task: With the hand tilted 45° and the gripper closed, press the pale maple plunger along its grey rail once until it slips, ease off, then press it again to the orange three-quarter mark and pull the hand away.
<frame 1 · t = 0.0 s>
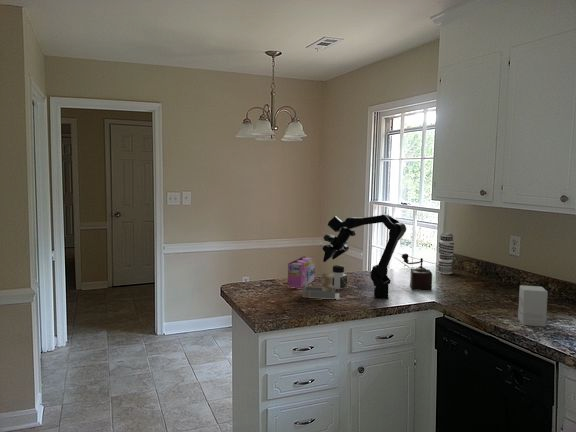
hand: (328, 260, 250), 15 cm above the worktop, tool tilted 35°, fingers open, 9 cm apart
plunger: (328, 284, 232), point 6 cm above the worktop, slide at 0.0 cm
gum box: (301, 284, 258), on the worktop
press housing: (321, 296, 233), on the worktop
medicine bottle: (337, 287, 252), on the worktop
supplement box: (531, 323, 196), on the worktop
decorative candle: (445, 272, 292), on the worktop
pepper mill: (415, 288, 254), on the worktop
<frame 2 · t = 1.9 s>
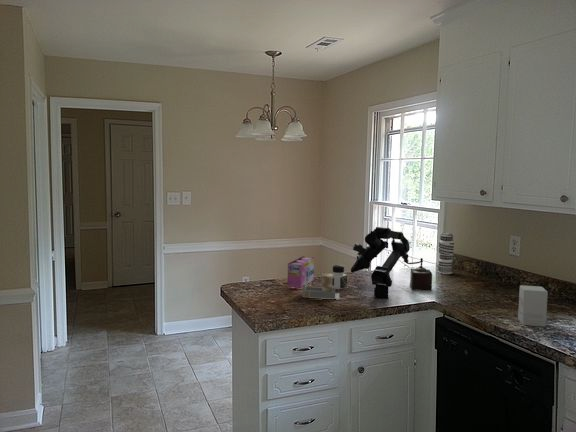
hand: (351, 271, 230), 14 cm above the worktop, tool tilted 45°, fingers open, 4 cm apart
nothing on the worktop moved.
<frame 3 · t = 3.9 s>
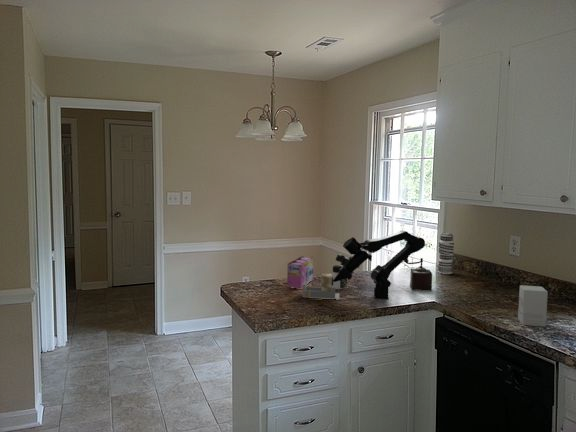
hand: (333, 281, 231), 8 cm above the worktop, tool tilted 45°, fingers closed, pressing on plunger
plunger: (327, 284, 232), point 6 cm above the worktop, slide at 0.4 cm, touching gripper
everything else where it was.
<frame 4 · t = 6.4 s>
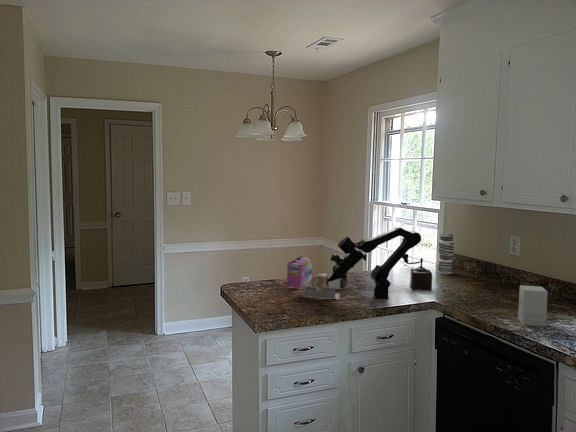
hand: (328, 280, 232), 8 cm above the worktop, tool tilted 45°, fingers closed, pressing on plunger
plunger: (322, 284, 232), point 6 cm above the worktop, slide at 3.0 cm, touching gripper
everything else where it was.
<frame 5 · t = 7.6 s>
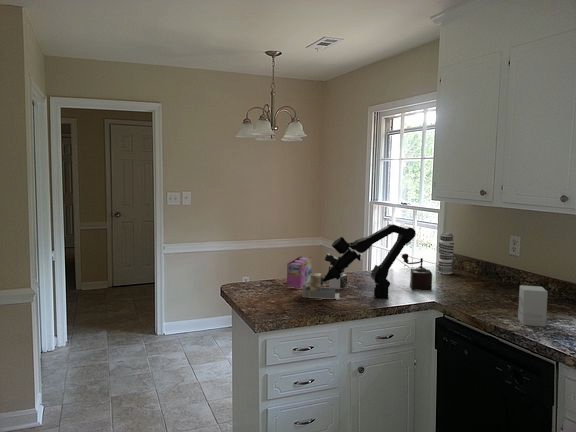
hand: (323, 281, 232), 8 cm above the worktop, tool tilted 45°, fingers closed
plunger: (316, 284, 233), point 6 cm above the worktop, slide at 5.8 cm
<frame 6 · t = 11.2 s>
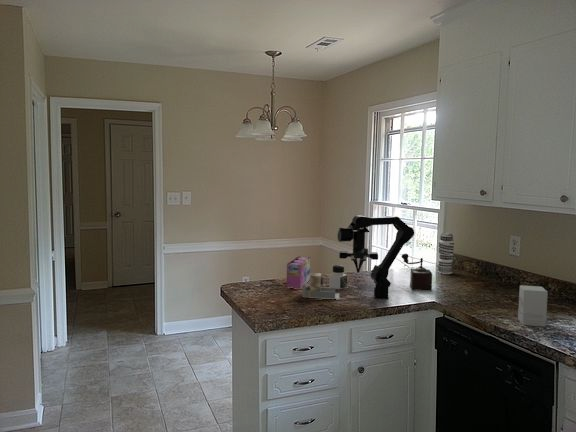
hand: (358, 272, 230), 13 cm above the worktop, tool pointing down, fingers closed
at the end: plunger slide at 5.8 cm; medicine bottle moved 0.2 cm from its start; gum box moved 1.7 cm from its start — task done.
